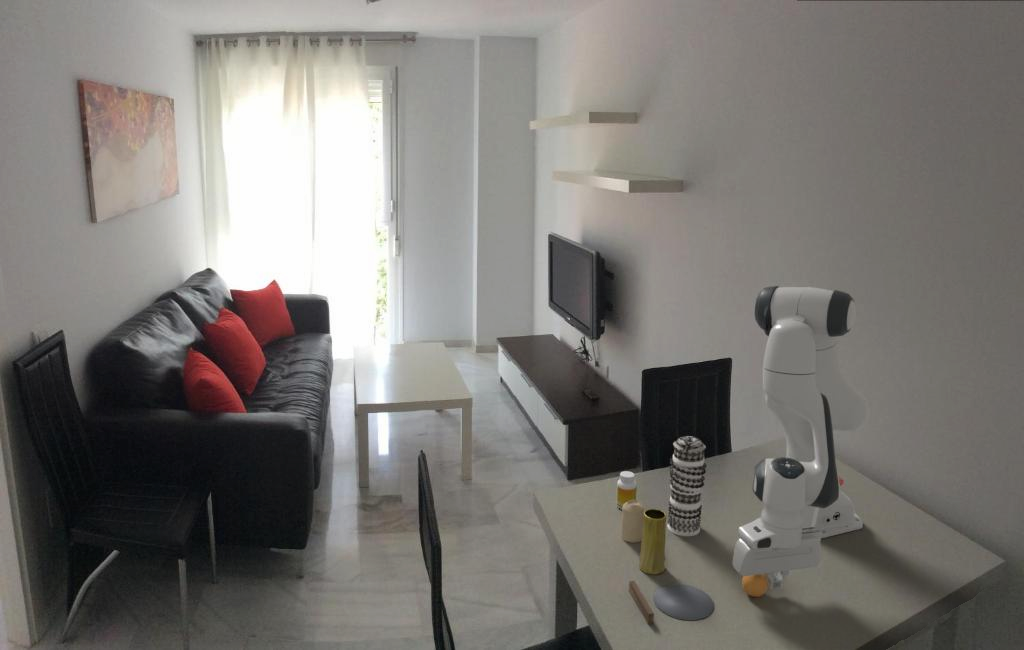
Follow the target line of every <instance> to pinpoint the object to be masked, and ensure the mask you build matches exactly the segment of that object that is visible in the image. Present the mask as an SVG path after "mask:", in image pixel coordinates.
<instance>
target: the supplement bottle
mask: <svg viewBox="0 0 1024 650" xmlns="http://www.w3.org/2000/svg"><path fill="white" fill-rule="evenodd" d="M637 486H638V485H637V482H636V480H635V473H634V472H632V471H627V470H625V471H621V472H620V473H619V479H618V480H617V482H616V499H615V501H616V503H615V505H616V507H617V509H619V508H620V510H622V506H623V504H625V503H626V502H627V501H629V500H637V488H638V487H637Z"/></svg>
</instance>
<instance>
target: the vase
mask: <svg viewBox="0 0 1024 650" xmlns="http://www.w3.org/2000/svg"><path fill="white" fill-rule="evenodd" d="M666 526H667V514H666V512H665V511H664V510H662V509H658V508H648V509H646V510H645V509H644V516H643V532H642V540H641V543H640V544H641V545H640V555H639V563H638V567H639V570H641V572H644V573H645V574H648V575H659V574H662V573H664V571H665V567H666V566H665V560H666V557H665V556H666V555H665V554H666V533H667V532H666V531H667V530H666V528H667V527H666Z"/></svg>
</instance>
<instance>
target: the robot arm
mask: <svg viewBox="0 0 1024 650" xmlns="http://www.w3.org/2000/svg"><path fill="white" fill-rule="evenodd" d="M856 309H857V308H856V304H855V299H854V298H853V297H852V296H851V295H850V293H847V292H845V291H842V290H837V289H835V290H829V289H825V288H819V287H812V286H805V287H802V286H783V287H780V286H778V285H775V286H774V285H773V286H768V287H763V288H762V290H760V291H759V293H758V294H757V297H756V300H755V302H754V309H753V311H754V320H755V322H756V323H757V325H758V326H759V328H760V329H761V330H763V331H764V334H765V335H766V336H767V342H766V346H765V350H764V355H763V363H762V389H763V391H764V399H765V403H766V406H767V408H768V409H769V410H770V412H772V414H773V415H775V416H774V417H776V418H777V420H778V422H779V423H780V425H781V427H782V429H783V432H784V436H785V439H786V454H785V455H786V456H785V457H784V456H783V457H782V456H781V457H776V458H764V459H761V460H760V461H759V462H758V463H757V464H756V465H754V474H753V475H754V477H753V482H752V492H753V494H754V495H755V497H757V499H758V500H759V501H760V502H762V503H763V508H762V511H761V513H760V517H758V518H756V519H755V520H753V521H750V522H749V523H746V524H744V525H741V526H740V527H739V528H738V536H739V537H740V538H738V540H737V541H736V542H735V545H734V550H733V556H732V567H733V569H734V570H735V571H736V572H737V574H738V575H740V576H741V577H743V576H751V575H759V574H763V575H764V576H765V578H766V580H767V584H768V586H767V588H769V589H776V588H782V587H783V584H784V580H786V578H787V576H788V575H789V573H790V571H797V570H802V569H809V568H810V569H811V568H817V567H818V566H819V565H820V564H821V562H822V561H821V560H822V545H821V541H822V539H824V538H829V537H833V536H837V535H840V534H845V533H850V532H853V531H857V530H861V529H863V525H864V523H863V521H862V519H861V518H860V517H859V515H857V513H855V507H854V502H852V500H851V498H849V496H847V494H845V493H844V492H843V491H842V490H841V489H840V488H841V486H843V484H844V483H845V482H844V479H843V478H841V477H840V476H839V475H838V470H837V469H838V468H837V461H836V451H835V442H834V431H836V432H837V431H838V432H839V431H840V432H852V433H853V432H855V433H856V432H857V431H859V430H860V429H862V428H863V427H864V426H865V425H866V423H867V421H868V420H869V416H870V407H869V403H868V400H867V399H866V397H865V396H864V395H863V394H862V393H860V392H859V391H858V390H857V389H856V388H855V387H854V386H853V385H852V384H851V383H850V381H849V380H848V378H847V377H846V375H845V373H844V371H843V369H842V366H841V362H840V350H839V349H840V347H839V345H840V343H839V339H840V338H839V337H843V336H845V335H846V334H847V333H849V332H850V331H851V329H852V327H853V325H854V324H855V321H856V318H857V317H856V316H857V310H856ZM775 573H777V574H776V576H775V575H774V574H775Z"/></svg>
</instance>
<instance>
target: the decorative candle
mask: <svg viewBox="0 0 1024 650" xmlns="http://www.w3.org/2000/svg"><path fill="white" fill-rule="evenodd" d="M672 445H673V454H672V456H671V458H670V459H669V464H670V465H671V466H670V467H669V469H670V472H669V478H670V479H669V484H670V485H669V487H670V489H671V492H670V496H669V497H670V498H669V500H668V513H667V520H666V523H667V524H666V526H667V527H666V528H667V529H668V531H670V533H672V534H675V535H677V536H681V537H693V536H696V535H698V534H699V533H700V531H701V528H700V527H701V521H702V520H701V519H702V516H701V515H702V508H703V506H702V497H701V496H702V493H703V491H704V486H705V482H704V481H705V480H706V478H705V476H704V475H705V474H706V473H707V472H706V471H707V470H706V468H707V464H706V462H705V450H706V448H707V447H706V444H704V442H702V440H701V439H699V438H698V437H695V436H691V435H685V436H680V437H678V438H677V440H675V441H673V443H672Z"/></svg>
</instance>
